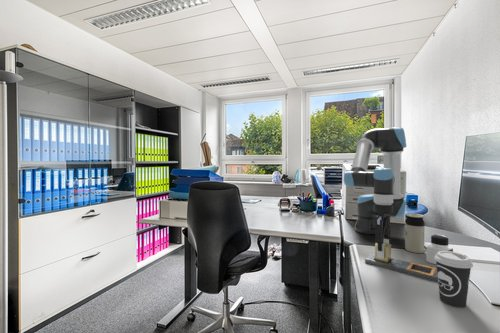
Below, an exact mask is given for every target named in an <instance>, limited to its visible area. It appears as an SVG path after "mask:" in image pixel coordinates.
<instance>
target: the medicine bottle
mask: <svg viewBox="0 0 500 333" xmlns="http://www.w3.org/2000/svg"><path fill="white" fill-rule="evenodd" d="M439 251H451V252H454V248H453V247H451V246H449V238H448V237H447V236H446V235H442V234H433V235H432V234H431V236H430V244H429V245H427V246H426V251H425V252H426V256H425V257H426V262H427V263H430V264H434V265H436V260H435V259H434V257H435V255H436V254H437V252H439Z"/></svg>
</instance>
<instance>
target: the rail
mask: <svg viewBox="0 0 500 333" xmlns="http://www.w3.org/2000/svg"><path fill="white" fill-rule="evenodd" d="M364 263H366V264H370V265H374V266H376V267H381V268H385V269H388V270H390V271H391V270H392V271H396V272H398V273H402V274H406V275H410V276H414V277H418V278H421V279H425V280H429V281H432V282H436V283H438V274H437V267H432V266H429V265H424V264H420V263H415V262H410V261H406V260H401V259H397V258H394V257H391V262H390V264H387V263H383V262H379V261H375V253H374V252H373V253H370V255H368V256H367V257H366V258H365V259H364Z"/></svg>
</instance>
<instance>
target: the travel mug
mask: <svg viewBox="0 0 500 333" xmlns="http://www.w3.org/2000/svg"><path fill="white" fill-rule="evenodd" d="M405 215H406V218H405V221H404V223H405V224H404V225H405V227H404V228H405V230H404V231H405V234H404V235H405V237H404V238H405V239H404V247H405V250H406V251H408V252H411V253H414V254H422V253H425V220H424V217H425V215H423V214H420V213H410V212H409V213H406V214H405Z"/></svg>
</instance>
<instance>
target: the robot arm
mask: <svg viewBox="0 0 500 333" xmlns="http://www.w3.org/2000/svg"><path fill="white" fill-rule="evenodd" d="M355 145H356V146H355V147H356V151H355V155H354V158H353V160H352V164H351V168H350V170H349V171H347V170H346V171H345V172H344V174H343V183H344V185H345V186H346V187H355V188H356V187H358V188H359V187H360V188H362V187H363V188H373V194H371V193H370V194H362V195H358V197H357V220H356V222H355V225H354V231H355V232H358V233H360V234H366V235H374V236H375V237H374V243H375V244H376V243H377V257H378V258H382V259H384V243H388V244H390V240H392V237H391V218H395V219H396V218H399V219H402V218H404V217H405V213H406V212H405V211H406V205H407V198H404V197H405V196H404V194H403V193H401V191H402V190H401V188H402V187H401V154H402V153H403V152H404V148H407V141H406V133H405V129H404V128H403V127H397V126H395V127H394V126H393V127H384V128H383V127H382V128H373V129H370V130H369V129H368V131H366V132H364V133H363V134H362V135H360V137H358V140H357V142H356V144H355ZM374 149H380V152H381V153H382V154H383V168H380V167H378V168H375V169H374V170H373V171H368V167H369V162H370V158H371V154H372V151H373V150H374Z"/></svg>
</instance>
